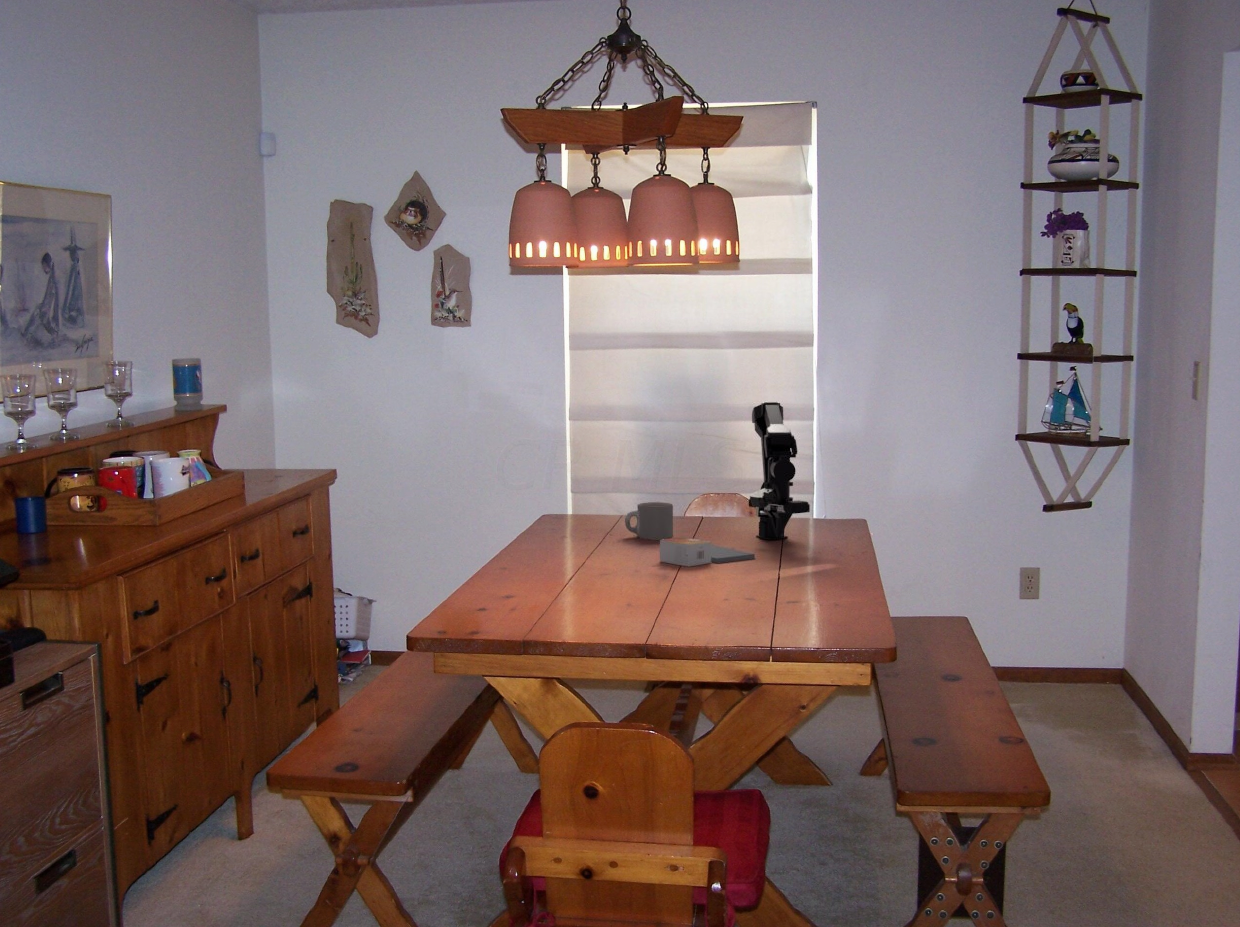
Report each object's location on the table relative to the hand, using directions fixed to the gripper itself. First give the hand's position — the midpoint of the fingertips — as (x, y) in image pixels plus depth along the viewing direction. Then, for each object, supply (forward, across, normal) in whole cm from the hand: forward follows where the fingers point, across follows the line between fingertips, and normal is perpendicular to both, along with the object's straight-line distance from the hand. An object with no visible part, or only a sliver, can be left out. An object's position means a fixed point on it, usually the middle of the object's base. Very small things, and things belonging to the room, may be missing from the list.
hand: (778, 536), depth 310 cm
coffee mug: (+3, -32, -20) cm, 38 cm away
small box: (0, +9, -32) cm, 34 cm away
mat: (+3, 0, -22) cm, 22 cm away
